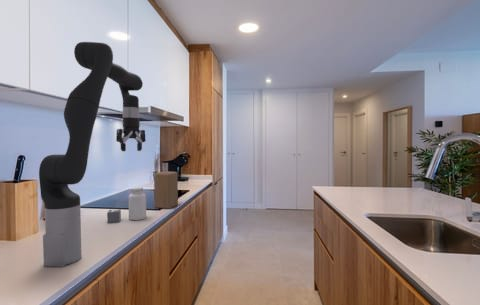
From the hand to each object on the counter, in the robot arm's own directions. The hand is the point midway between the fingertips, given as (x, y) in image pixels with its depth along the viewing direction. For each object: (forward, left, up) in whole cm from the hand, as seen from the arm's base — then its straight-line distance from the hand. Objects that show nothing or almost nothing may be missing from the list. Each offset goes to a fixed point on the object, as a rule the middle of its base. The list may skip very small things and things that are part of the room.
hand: (131, 151), depth 126 cm
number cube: (-5, +7, -33) cm, 34 cm away
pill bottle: (0, -2, -33) cm, 33 cm away
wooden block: (+24, -9, -33) cm, 42 cm away
